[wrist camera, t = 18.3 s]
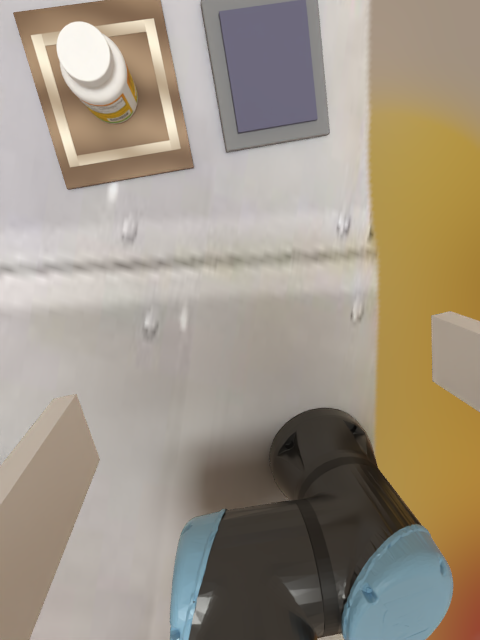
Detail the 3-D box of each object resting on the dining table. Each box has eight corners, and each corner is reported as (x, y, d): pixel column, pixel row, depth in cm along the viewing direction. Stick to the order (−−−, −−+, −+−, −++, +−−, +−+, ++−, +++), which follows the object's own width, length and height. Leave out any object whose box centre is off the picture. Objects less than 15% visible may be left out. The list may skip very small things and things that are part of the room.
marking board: (193, 167, 39) (193, 166, 38) (69, 189, 38) (66, 188, 37) (159, -2, 35) (158, -8, 34) (17, 17, 34) (12, 11, 33)
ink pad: (326, 135, 40) (331, 131, 39) (226, 152, 39) (227, 149, 38) (312, -11, 36) (318, -21, 35) (200, 4, 35) (201, -6, 34)
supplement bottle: (96, 54, 35) (60, -8, 25) (146, 85, 36) (130, 36, 27) (76, 107, 36) (35, 65, 26) (126, 135, 37) (103, 105, 28)
